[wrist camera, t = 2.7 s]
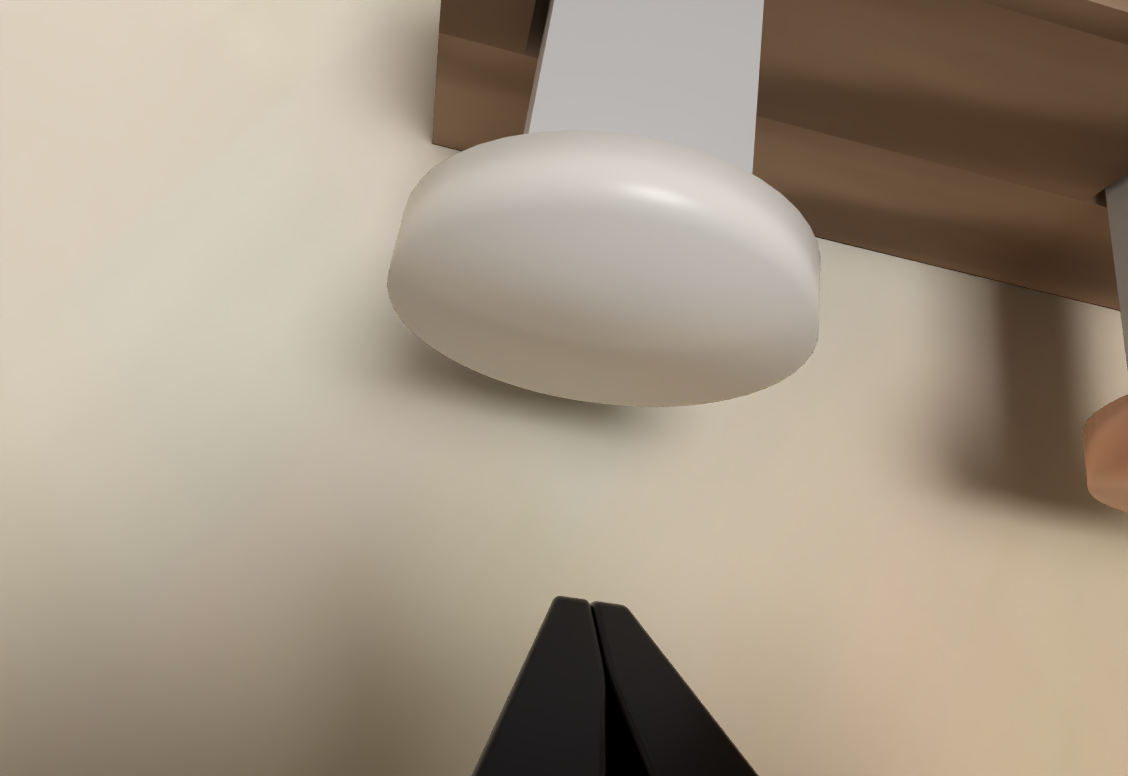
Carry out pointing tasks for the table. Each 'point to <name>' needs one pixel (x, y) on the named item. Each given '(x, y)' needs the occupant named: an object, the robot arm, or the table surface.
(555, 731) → the robot arm
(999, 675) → the table surface
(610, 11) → the grey plunger
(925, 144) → the panel
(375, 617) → the table surface
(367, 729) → the table surface
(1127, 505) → the terracotta plunger
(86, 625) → the table surface
